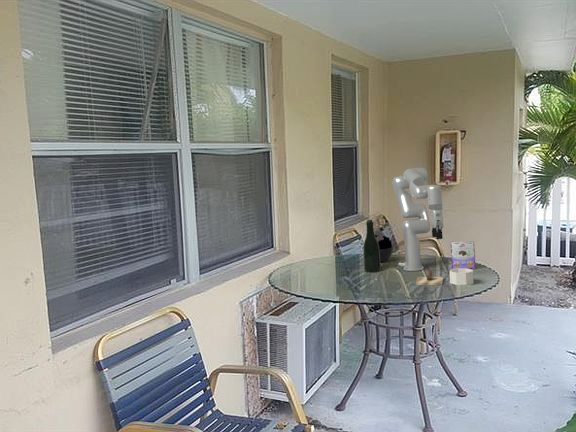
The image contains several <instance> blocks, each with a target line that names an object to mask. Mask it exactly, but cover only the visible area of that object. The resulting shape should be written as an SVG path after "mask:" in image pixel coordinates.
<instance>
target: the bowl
mask: <svg viewBox="0 0 576 432" xmlns="http://www.w3.org/2000/svg"><path fill="white" fill-rule="evenodd" d="M449 283H450V284H452V285H455V286H468V285H471V286H473V285H474V269H467V268H456V269H452V268H451V269H449ZM472 284H473V285H472Z"/></svg>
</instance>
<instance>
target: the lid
mask: <svg viewBox="0 0 576 432" xmlns="http://www.w3.org/2000/svg"><path fill="white" fill-rule="evenodd" d="M425 272H426V273H425V275H426V276H418V277H417V280H416V285H442V283H443V279H444V276H433V270H430V269H429V270H426V271H425Z"/></svg>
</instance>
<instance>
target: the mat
mask: <svg viewBox="0 0 576 432" xmlns="http://www.w3.org/2000/svg"><path fill="white" fill-rule="evenodd" d="M417 278H418V277H417ZM417 278H416V277H415V280H414V281H413V283H412V286H418V287H420V286H421V287H422V286H423V287H424V286H425V287H426V286H427V287H428V286H432V287H445V286H446V282H447V278H444V277H443V278H444V279H443V283H442V285H416V280H417Z"/></svg>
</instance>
